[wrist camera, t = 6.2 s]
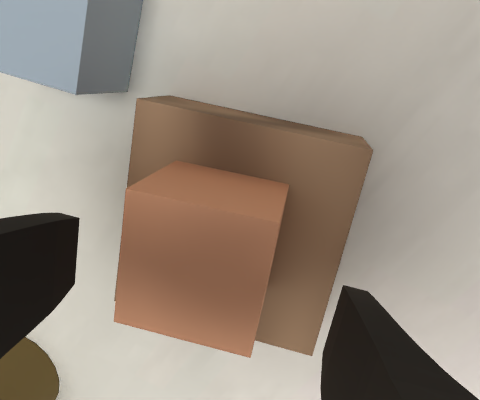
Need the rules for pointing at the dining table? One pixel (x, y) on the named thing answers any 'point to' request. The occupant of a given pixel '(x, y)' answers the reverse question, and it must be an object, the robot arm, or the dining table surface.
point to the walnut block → (275, 169)
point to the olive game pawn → (27, 374)
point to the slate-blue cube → (70, 43)
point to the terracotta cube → (198, 254)
